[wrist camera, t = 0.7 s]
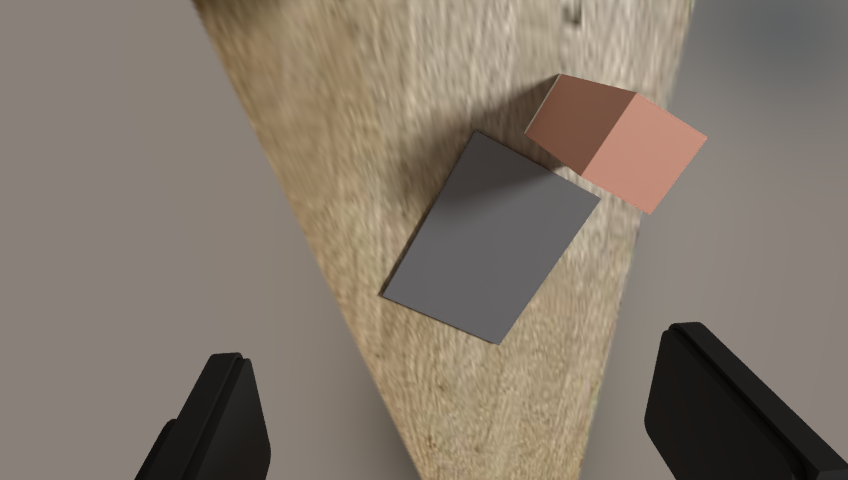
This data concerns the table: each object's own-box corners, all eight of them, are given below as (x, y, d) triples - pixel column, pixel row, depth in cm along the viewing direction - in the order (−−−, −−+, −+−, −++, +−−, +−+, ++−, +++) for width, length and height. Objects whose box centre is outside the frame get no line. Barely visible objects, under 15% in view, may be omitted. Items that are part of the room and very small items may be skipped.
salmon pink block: (559, 73, 36) (636, 92, 25) (612, 105, 37) (707, 137, 26) (523, 133, 37) (580, 176, 26) (574, 162, 39) (650, 214, 28)
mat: (475, 129, 37) (476, 131, 36) (598, 197, 40) (600, 199, 39) (382, 293, 42) (382, 296, 42) (497, 342, 45) (498, 345, 45)
